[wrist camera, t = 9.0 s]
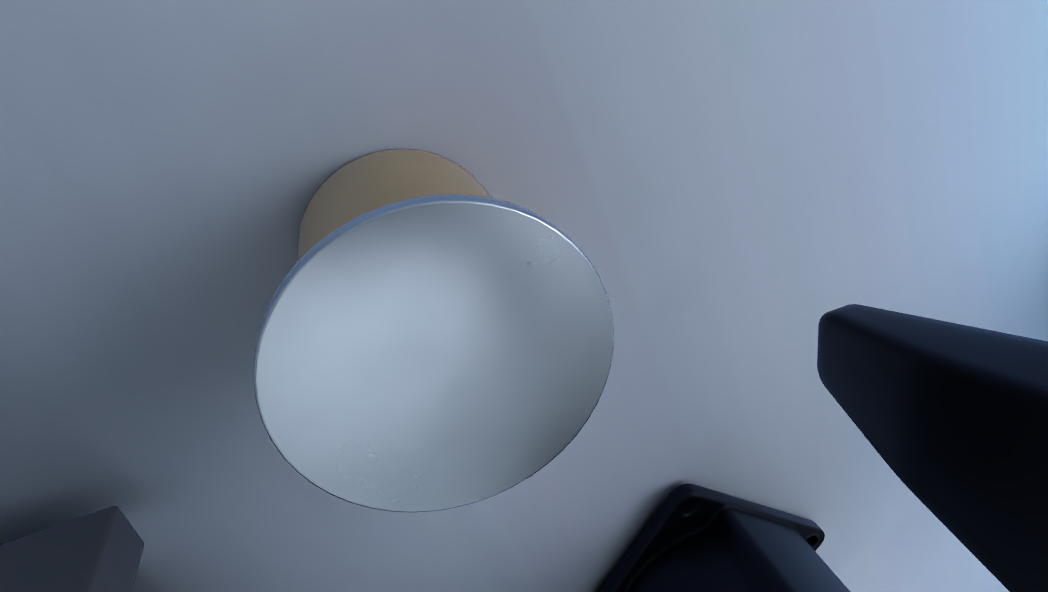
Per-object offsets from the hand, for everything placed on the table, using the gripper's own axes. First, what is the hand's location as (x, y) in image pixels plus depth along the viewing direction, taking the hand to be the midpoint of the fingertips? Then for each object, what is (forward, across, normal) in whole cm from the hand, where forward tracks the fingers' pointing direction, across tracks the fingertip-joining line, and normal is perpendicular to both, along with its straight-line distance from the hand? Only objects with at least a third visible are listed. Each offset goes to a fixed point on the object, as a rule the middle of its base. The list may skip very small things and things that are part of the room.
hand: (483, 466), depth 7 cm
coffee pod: (+7, 0, 0) cm, 7 cm away
